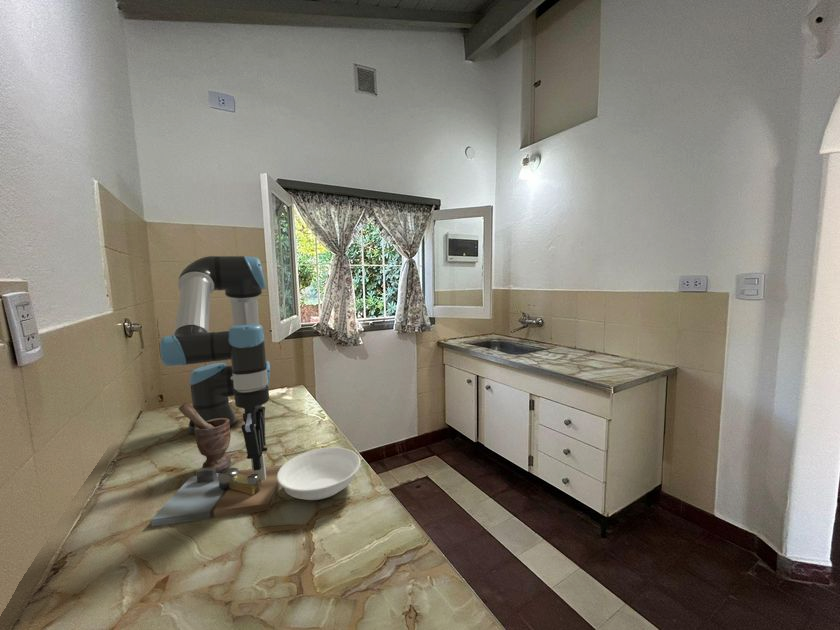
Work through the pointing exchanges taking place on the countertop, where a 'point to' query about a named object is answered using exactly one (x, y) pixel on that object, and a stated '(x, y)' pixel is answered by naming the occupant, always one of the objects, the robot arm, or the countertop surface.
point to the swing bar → (239, 481)
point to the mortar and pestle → (210, 438)
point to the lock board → (216, 498)
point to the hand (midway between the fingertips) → (259, 479)
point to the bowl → (319, 473)
